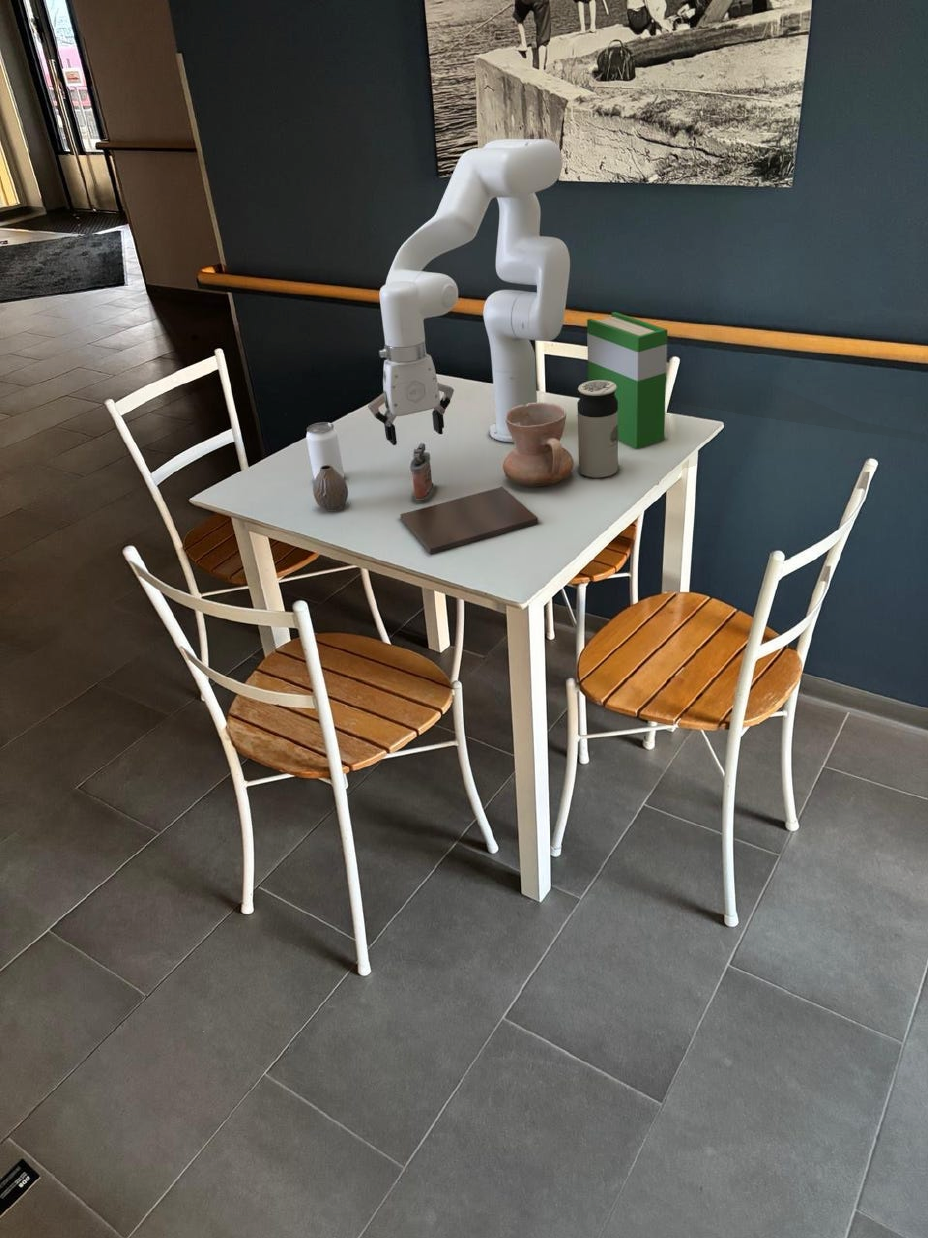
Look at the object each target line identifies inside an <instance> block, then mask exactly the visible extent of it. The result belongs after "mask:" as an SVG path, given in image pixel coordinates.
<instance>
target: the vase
mask: <svg viewBox="0 0 928 1238" xmlns="http://www.w3.org/2000/svg"><path fill="white" fill-rule="evenodd" d="M312 492H313V497H314V500H315V502H316V504H317V505H318V506H319V507H320V508H321V509H323V510H325V511H326V512H335V511H338V510H340V509H342V508H343V507H344V506H345V505H346V503H347V501H348V497H349V489H348V485H347V482H346V480H345V477H344V478H343V477H342V476H341V475H340V474H339V473H338V472H337V471H336V470H335V469H334V468H333V467H332V466H331V465H324V466H322V467H321V468H320V471H319V473H318V475H317V477H316V479H315V480H314V481H313V485H312Z"/></svg>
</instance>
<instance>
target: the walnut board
mask: <svg viewBox="0 0 928 1238" xmlns="http://www.w3.org/2000/svg"><path fill="white" fill-rule="evenodd" d="M399 515H400V520H401V522H402V523H403V525H405V526H406V527H407V528H408V530H409V531H410V532H411V533H412V534H413V536H414V537H415V538H416V539H417V540H418V541H419V543H421V545H422V546H423V548H425V549H426V551H427V552H428V553H429V554H430V555H433V554H437V553H440V552H443V551H447V550H451V549H455V548H458V547H461V546H465V545H467V544H468V545H469V544H471V543H475V542H478V541H482V540H485V539H489V538H493V537H497V536H500V535H503V534H507V533H510V532H513V531H517V530H520V529H525V528H527V527H530V526H534V525H538V524H539V518H538V516H536V515H535V514H534V513H533V512H532V511H531V510H529V509H528V508H527V507H526V506H525V505H524V504H522V502H520V501H519V500H518V499H517V498H516V497H515V496H513V495H512V494H511V493H510V491H508V490H507V489H506V488H504V487H503V486H500V487H496V488H492V489H489V490H485V491H481V492H478V493H474V494H470V495H466V496H463V497H459V498H455V499H451V500H448V501H444V502H439V503H437V504H433V505H429V506H426V507H422V508H418V509H414V510H411V511H408V512H403V513H400V514H399Z"/></svg>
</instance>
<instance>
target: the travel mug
mask: <svg viewBox="0 0 928 1238" xmlns="http://www.w3.org/2000/svg"><path fill="white" fill-rule="evenodd" d="M616 388H617V386H616V384H615V383H613V382H610V381H604V380H595V381H589V382H588V381H585V382H582V383H581V384H580V385H579V386H578V388H577V390H578V392H579V395H580V396H579V399H578V401H577V403H576V405H577V406H576V407H577V444H578V445H577V446H578V447H577V448H578V450H577V452H578V472H579V473H580V474H581V475H583V476H585V477H588V478H595V479H599V478H606V477H610V476H612V475H614V474H615V473H617V471H618V469H619V453H618V452H619V450H618V449H619V440H618V401H617V399H616V397H615V395H614V394H615V390H616Z"/></svg>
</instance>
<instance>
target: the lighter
mask: <svg viewBox="0 0 928 1238" xmlns="http://www.w3.org/2000/svg"><path fill="white" fill-rule="evenodd" d="M409 469H410V472H411V476H412V477H411V479H412V485H413V492H414V494H413V499H414V500H413V501H414V503H416V504H424V503H427V502H428V501H429V499H430V498H431V497H432V495H433V493H434V487H435V486H434V483H433V477H432V467H431V453H429V452H426V444H425V443H424V442H421V443H419V445H418V446H417V448H414V449H413V454H412V460H411V462H410V465H409Z"/></svg>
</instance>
